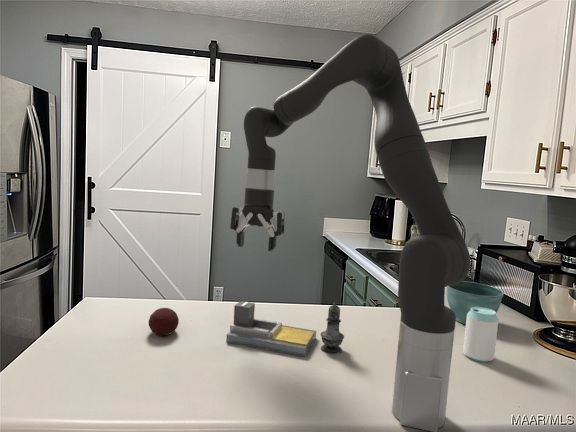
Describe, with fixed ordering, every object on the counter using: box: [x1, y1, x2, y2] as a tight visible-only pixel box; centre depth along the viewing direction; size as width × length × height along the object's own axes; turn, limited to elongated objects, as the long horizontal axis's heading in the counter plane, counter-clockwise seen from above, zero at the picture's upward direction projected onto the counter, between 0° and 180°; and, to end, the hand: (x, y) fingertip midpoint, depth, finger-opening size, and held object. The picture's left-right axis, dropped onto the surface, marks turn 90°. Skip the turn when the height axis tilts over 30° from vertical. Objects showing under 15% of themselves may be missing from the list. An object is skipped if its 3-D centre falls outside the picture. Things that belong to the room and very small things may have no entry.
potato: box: [148, 307, 180, 337], centre depth 106 cm, size 7×10×6 cm
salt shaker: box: [320, 301, 345, 355], centre depth 102 cm, size 6×6×12 cm
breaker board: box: [226, 317, 317, 358], centre depth 105 cm, size 12×20×4 cm, turn 74°
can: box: [462, 307, 499, 363], centre depth 103 cm, size 7×7×12 cm
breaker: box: [233, 300, 256, 327], centre depth 107 cm, size 4×4×6 cm
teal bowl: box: [446, 280, 504, 325], centre depth 129 cm, size 16×16×11 cm
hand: (255, 248), depth 109 cm, fingers open, 8 cm apart
